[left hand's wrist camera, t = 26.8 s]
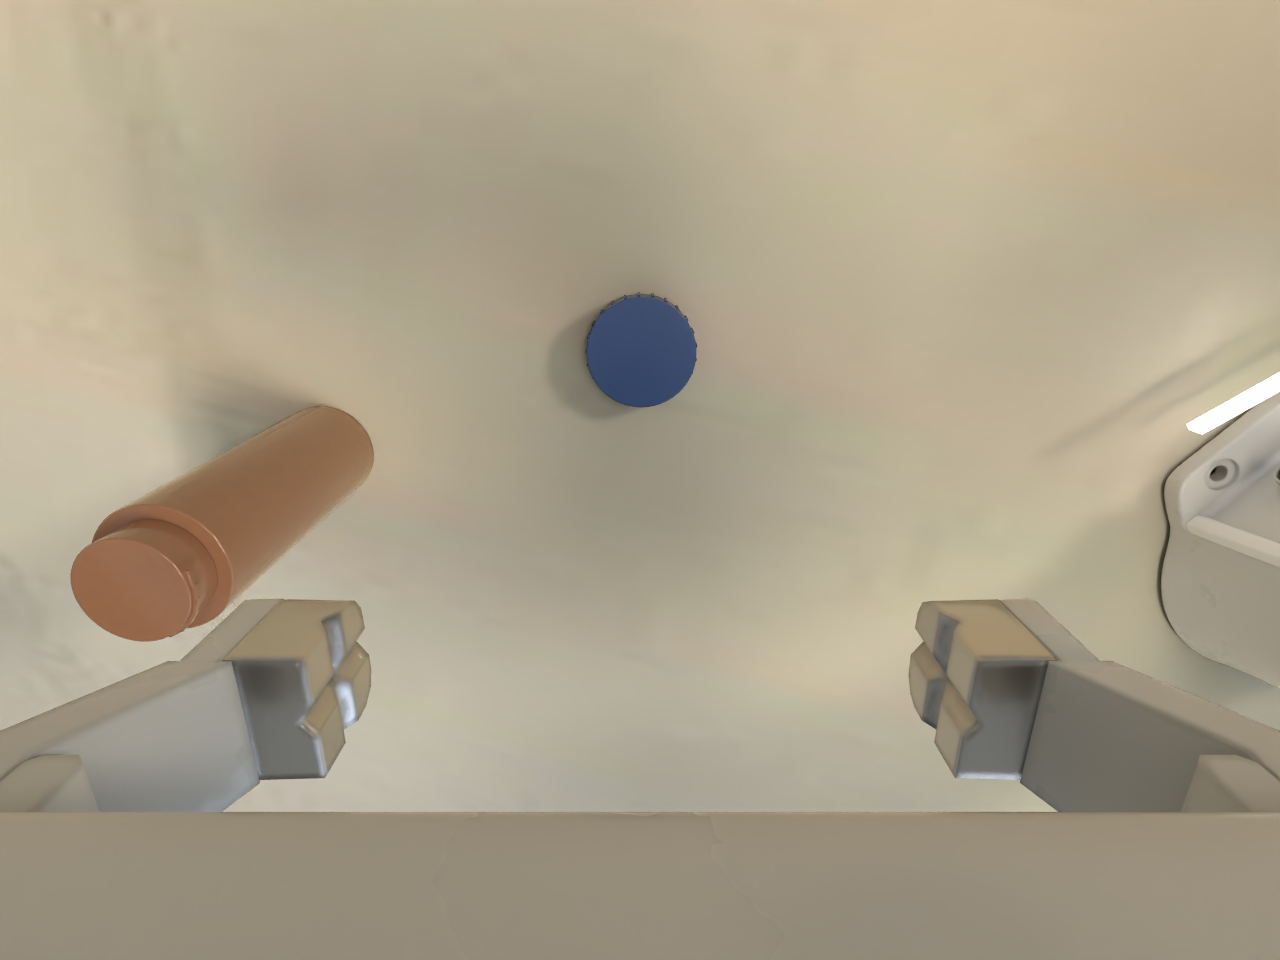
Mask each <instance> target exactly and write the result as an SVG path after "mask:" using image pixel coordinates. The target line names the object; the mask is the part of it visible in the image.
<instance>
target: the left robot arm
mask: <svg viewBox="0 0 1280 960" xmlns="http://www.w3.org/2000/svg"><path fill="white" fill-rule="evenodd" d="M1256 404H1257V405H1256ZM1254 405H1255V406H1254ZM1253 406H1254V407H1253ZM1251 407H1253V408H1252V409H1250V410H1249V411H1248V412H1246V413H1245V414H1244V415H1243V416H1241V417H1240V418H1239V419H1238V420H1236V421H1235V422H1234V423H1233V424H1231V425H1230V426H1229V427H1227V428H1226V429H1225V430H1224V431H1222V432H1221V433H1220V434H1219V435H1217V436H1216V437H1215V438H1213V439H1212V440H1211V441H1210V442H1208V443H1207V444H1206V445H1205V446H1203V447H1202V448H1201V449H1200V450H1198V451H1197V452H1196V453H1194V454H1193V455H1192V456H1191V457H1189V458H1188V459H1187V460H1186V461H1184V462H1183V463H1182V464H1181V465H1179V466H1178V467H1177V468H1176V469H1175V470H1174V471H1173V472H1172V473H1171V474H1170V475H1169V477H1168V479H1167V481H1166V483H1165V489H1164V498H1165V505H1166V510H1167V515H1168V519H1169V523H1170V537H1169V543H1168V547H1167V550H1166V554H1165V559H1164V563H1163V568H1162V576H1161V593H1162V600H1163V606H1164V609H1165V612H1166V615H1167V618H1168V620H1169V622H1170V624H1171V626H1172V627H1173V629H1174V630H1175V632H1176V633H1177V635H1178V636H1179V637H1180V638H1181V639H1182V640H1183V641H1184V642H1185V643H1186V644H1187V645H1188V646H1189V647H1190V648H1192V649H1193V650H1194V651H1196V652H1197V653H1199V654H1201V655H1203V656H1204V657H1207V658H1209V659H1211V660H1213V661H1216V662H1219V663H1222V664H1225V665H1228V666H1230V667H1233V668H1236V669H1238V670H1240V671H1243V672H1245V673H1248V674H1250V675H1252V676H1254V677H1256V678H1259V679H1261V680H1263V681H1265V682H1267V683H1269V684H1271V685H1273V686H1275V687H1277V688H1279V689H1280V372H1279V373H1277V374H1276V375H1274V376H1272V377H1270V378H1268V379H1267V380H1265V381H1263V382H1261V383H1260V384H1258V385H1256V386H1254V387H1252V388H1251V389H1249V390H1247V391H1245V392H1243V393H1242V394H1240V395H1238V396H1236V397H1234V398H1233V399H1231V400H1229V401H1227V402H1226V403H1224V404H1222V405H1220V406H1218V407H1217V408H1215V409H1213V410H1211V411H1209V412H1208V413H1206V414H1204V415H1202V416H1201V417H1199V418H1197V419H1195V420H1193V421H1192V422H1190V423H1188V424H1187V426H1188V429H1189V430H1192V431H1194V432H1197V433H1200V434H1204V433H1206V432H1207V431H1209V430H1211V429H1213V428H1215V427H1216V426H1218V425H1220V424H1222V423H1224V422H1226V421H1227V420H1229V419H1231V418H1233V417H1235V416H1236V415H1238V414H1240V413H1242V412H1244V411H1245V410H1247V409H1249V408H1251ZM1215 467H1216V470H1215V472H1214V473H1213V474H1212V475H1210V473H1211V471H1212V470H1213V469H1214V468H1215ZM364 629H365V626H364V621H363V616H362V611H361V607H360V606H359V605H358V604H357V603H356V602H355V601H341V600H284V599H255V600H246V601H244V602H243V603H242V604H241V605H239V606H238V607H237V608H236V609H235V610H234V611H233V612H232V613H231V614H230V615H229V616H228V617H227V618H225V619H224V620H223V621H222V622H221V623H220V624H219V625H218V626H217V627H216V628H215V629H214V630H213V631H212V632H210V633H209V634H208V635H207V636H206V637H205V638H204V639H203V640H202V641H201V642H200V643H199V644H198V645H196V646H195V647H194V648H193V649H192V650H191V651H190V652H189V653H188V654H187V655H186V656H185V657H184V658H182V659H181V660H180V661H167V662H165V663H163V664H160V665H158V666H155V667H153V668H150V669H148V670H146V671H143V672H141V673H138V674H136V675H134V676H131V677H129V678H126V679H124V680H122V681H119V682H117V683H114V684H112V685H110V686H107V687H105V688H102V689H100V690H98V691H95V692H93V693H90V694H88V695H86V696H83V697H81V698H78V699H76V700H74V701H71V702H69V703H66V704H64V705H62V706H59V707H57V708H54V709H52V710H49V711H47V712H45V713H42V714H40V715H37V716H35V717H33V718H30V719H28V720H25V721H23V722H21V723H18V724H16V725H13V726H11V727H9V728H6V729H4V730H1V731H0V960H1280V731H1278V730H1276V729H1273V728H1271V727H1269V726H1266V725H1264V724H1261V723H1259V722H1257V721H1254V720H1252V719H1249V718H1247V717H1245V716H1242V715H1240V714H1237V713H1235V712H1233V711H1230V710H1228V709H1225V708H1223V707H1221V706H1218V705H1216V704H1213V703H1211V702H1209V701H1206V700H1204V699H1201V698H1199V697H1197V696H1194V695H1192V694H1189V693H1187V692H1185V691H1182V690H1180V689H1177V688H1175V687H1173V686H1170V685H1168V684H1165V683H1163V682H1161V681H1158V680H1156V679H1153V678H1151V677H1149V676H1146V675H1144V674H1141V673H1139V672H1137V671H1134V670H1132V669H1129V668H1127V667H1125V666H1122V665H1120V664H1117V663H1115V662H1113V661H1100V660H1099V659H1098V658H1096V657H1095V656H1094V655H1093V654H1092V653H1091V652H1090V651H1089V650H1088V649H1087V648H1086V647H1085V646H1084V645H1083V644H1081V643H1080V642H1079V641H1078V640H1077V639H1076V638H1075V637H1074V636H1073V635H1072V634H1071V633H1070V632H1069V631H1068V630H1066V629H1065V628H1064V627H1063V626H1062V625H1061V624H1060V623H1059V622H1058V621H1057V620H1056V619H1055V618H1054V617H1053V616H1051V615H1050V614H1049V613H1048V612H1047V611H1046V610H1045V609H1044V608H1043V607H1042V606H1041V605H1040V604H1039V603H1038V602H1036V601H1033V600H1030V599H1006V600H958V601H929V602H922V604H921V607H920V609H919V611H918V614H917V620H916V626H915V629H916V630H917V632H918V633H919V635H920V636H921V638H922V639H923V641H924V642H923V643H922V644H921V645H920V646H919V647H918V648H917V649H916V650H915V651H914V652H913V653H912V654H911V659H910V667H909V684H910V694H911V697H912V700H913V703H914V707H915V709H916V711H917V713H918V714H919V716H920V718H921V720H922V721H924V722H925V723H927V724H929V725H930V726H932V727H933V728H935V729H936V736H935V742H934V743H935V744H936V746H937V748H938V750H939V751H940V753H941V755H942V756H943V758H944V760H945V762H946V763H947V765H948V767H949V768H950V770H951V772H952V774H953V775H954V777H955V778H974V779H1010V780H1020V783H1021V784H1022V785H1024V786H1025V787H1026V788H1028V789H1029V790H1030V791H1032V792H1033V793H1034V794H1036V795H1037V796H1038V797H1040V798H1041V799H1042V800H1044V801H1045V802H1046V803H1048V804H1049V805H1050V806H1051V807H1053V808H1054V809H1055V810H1057V811H1058V812H222V811H223V810H225V809H226V808H227V807H229V806H230V805H231V804H233V803H234V802H235V801H237V800H238V799H239V798H241V797H242V796H243V795H245V794H246V793H247V792H249V791H250V790H251V789H253V788H254V787H255V786H257V785H258V784H259V783H260V781H259V780H269V779H305V778H325V777H326V775H327V774H328V772H329V770H330V769H331V767H332V765H333V763H334V762H335V760H336V758H337V756H338V755H339V753H340V751H341V750H342V748H343V746H344V744H345V743H346V742H345V736H344V729H345V728H347V727H348V726H350V725H351V724H353V723H355V722H356V721H358V720H359V718H360V716H361V714H362V712H363V711H364V709H365V707H366V704H367V700H368V696H369V692H370V687H371V665H370V658H369V654H368V653H367V652H366V651H365V650H364V649H363V648H362V647H361V646H360V645H359V644H358V643H357V642H356V641H357V639H358V638H359V636H360V635H361V633H362V632H363V630H364Z"/></svg>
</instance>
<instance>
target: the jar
mask: <svg viewBox="0 0 1280 960" xmlns="http://www.w3.org/2000/svg"><path fill="white" fill-rule="evenodd" d="M372 465H373V447H372V444H371V441H370V438H369V436H368V434H367V433H366V431H365V430H364V428H363V427H362V426H361V425H360V424H359V423H358V422H357V421H356V420H355V419H354V418H353V417H351V416H350V415H348V414H346V413H344V412H343V411H340V410H337V409H335V408H330V407H323V406H317V407H310V408H307V409H304V410H302V411H300V412H298V413H296V414H294V415H292V416H290V417H289V418H287V419H285V420H283V421H281V422H279V423H277V424H276V425H274V426H272V427H270V428H268V429H266V430H265V431H263V432H261V433H259V434H257V435H255V436H253V437H252V438H250V439H248V440H246V441H244V442H242V443H240V444H239V445H237V446H235V447H233V448H231V449H229V450H228V451H226V452H224V453H222V454H220V455H218V456H216V457H215V458H213V459H211V460H209V461H207V462H205V463H203V464H202V465H200V466H198V467H196V468H194V469H192V470H191V471H189V472H187V473H185V474H183V475H181V476H179V477H178V478H176V479H174V480H172V481H170V482H168V483H167V484H165V485H163V486H161V487H159V488H157V489H155V490H154V491H152V492H150V493H148V494H146V495H144V496H142V497H141V498H139V499H137V500H135V501H133V502H131V503H130V504H128V505H126V506H124V507H122V508H120V509H118V510H117V511H115V512H113V513H112V514H110V515H109V516H108V517H107V518H106V519H104V520H103V522H102V523H101V524H100V526H99V527H98V529H97V531H96V533H95V535H94V538H93V541H92V543H91V544H90V545H88V546H87V547H85V548H84V549H83V550H82V551H81V552H80V553H79V554H78V556H77V557H76V559H75V561H74V563H73V566H72V570H71V585H72V590H73V593H74V596H75V598H76V600H77V602H78V604H79V605H80V607H81V608H82V610H83V611H84V612H85V613H86V615H87V616H88V617H89V618H90V619H91V620H92V621H94V622H95V623H96V624H97V625H99V626H100V627H102V628H103V629H104V630H106V631H108V632H110V633H112V634H114V635H117V636H119V637H122V638H125V639H129V640H134V641H156V640H160V639H164V638H166V637H172V636H174V635H176V634H178V633H180V632H183V631H184V630H185V629H186V628H192V627H196V626H200V625H203V624H205V623H208V622H209V621H211V620H213V619H215V618H216V617H217V616H218V615H219V614H221V613H222V612H223V611H224V610H225V609H226V608H227V607H228V606H229V605H230V604H232V603H233V602H234V601H235V600H236V599H237V598H238V597H239V596H240V595H241V594H242V593H244V592H245V591H246V590H247V589H248V588H249V587H250V586H251V585H252V584H253V583H254V582H255V581H257V580H258V579H259V578H260V577H261V576H262V575H263V574H264V573H265V572H266V571H267V570H269V569H270V568H271V567H272V566H273V565H274V564H275V563H276V562H277V561H278V560H279V559H280V558H282V557H283V556H284V555H285V554H286V553H287V552H288V551H289V550H290V549H291V548H292V547H294V546H295V545H296V544H297V543H298V542H299V541H300V540H301V539H302V538H303V537H304V536H305V535H307V534H308V533H309V532H310V531H311V530H312V529H313V528H314V527H315V526H316V525H317V524H318V523H320V522H321V521H322V520H323V519H324V518H325V517H326V516H327V515H328V514H329V513H330V512H332V511H333V510H334V509H335V508H336V507H337V506H338V505H339V504H340V503H341V502H342V501H343V500H345V499H346V498H347V497H348V496H349V495H350V494H351V493H352V492H353V491H354V490H355V489H357V488H358V487H359V486H360V485H361V484H362V483H363V482H364V481H365V480H366V478H367V477H368V475H369V474H370V471H371V469H372Z"/></svg>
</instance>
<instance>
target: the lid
mask: <svg viewBox="0 0 1280 960" xmlns="http://www.w3.org/2000/svg"><path fill="white" fill-rule="evenodd" d="M687 321H688V319H687V317H686V316H683V314H682V313H681V312H680V311H679V308H678V306H677V305H676V306H674V305H673V304H671V303H670V302H668V301H667V299H666V298H664V299H662V298H660V297H657V296H654V294H651V295H647V294H640V292H638V294H635V295H629V296H626V295H624V297H623V298H621V299H619V300H616V301H615V302H614V300H613V301H612V302H611V304H610V305H609V306H608V307H607V308H605V309H604V310H603V309H602V310H601V312H600V315H599V317H598V318H597V320H596V321H595V320H594V322H593V324H592V326H593V328H592V330H591V332H590V333H589V334H588V336H587V339H588V343H587V349H586V353H587V361H588V364H587V365H588V366H589V369H590V372H591V375H592V378H593V379H594V380H595V382H596V384H597V385H598V386H599V387H600V389H601V390H602V391H603V392H604V393H605V394H607V395H608V396H609V397H611V398H612V399H613V400H615V401H617V402H619V403H622V404H625V405H628V406H633V407H649V406H655V405H658V404H661V403H663V402H666V401H668V400H669V399H671V398H673V397H674V396H675V395H676V394H678V393H679V392H680V391H681V390H682V389H683V387H684V386H685V385H686V383H687V382H688V380H689V378H690V377H691V374H692V373H693V369H694V366H695V361H696V360H697V359H696V347H697V344H696V342H695V339H694V335H693V334H694V331H693V329H692V328H690V326H689V324H688V322H687Z"/></svg>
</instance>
